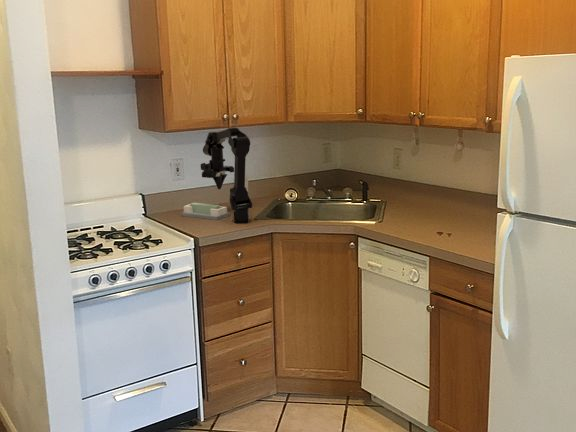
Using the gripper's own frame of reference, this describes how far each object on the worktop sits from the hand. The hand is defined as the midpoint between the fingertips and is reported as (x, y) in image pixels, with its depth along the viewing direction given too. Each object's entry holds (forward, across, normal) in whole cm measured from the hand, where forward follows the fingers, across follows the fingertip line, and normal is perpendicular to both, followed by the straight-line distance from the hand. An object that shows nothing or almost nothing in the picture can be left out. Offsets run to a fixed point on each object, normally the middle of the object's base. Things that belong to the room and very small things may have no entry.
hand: (219, 189), depth 322 cm
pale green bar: (+10, +8, -4) cm, 13 cm away
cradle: (+12, +8, -4) cm, 15 cm away
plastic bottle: (+12, -16, +2) cm, 21 cm away
